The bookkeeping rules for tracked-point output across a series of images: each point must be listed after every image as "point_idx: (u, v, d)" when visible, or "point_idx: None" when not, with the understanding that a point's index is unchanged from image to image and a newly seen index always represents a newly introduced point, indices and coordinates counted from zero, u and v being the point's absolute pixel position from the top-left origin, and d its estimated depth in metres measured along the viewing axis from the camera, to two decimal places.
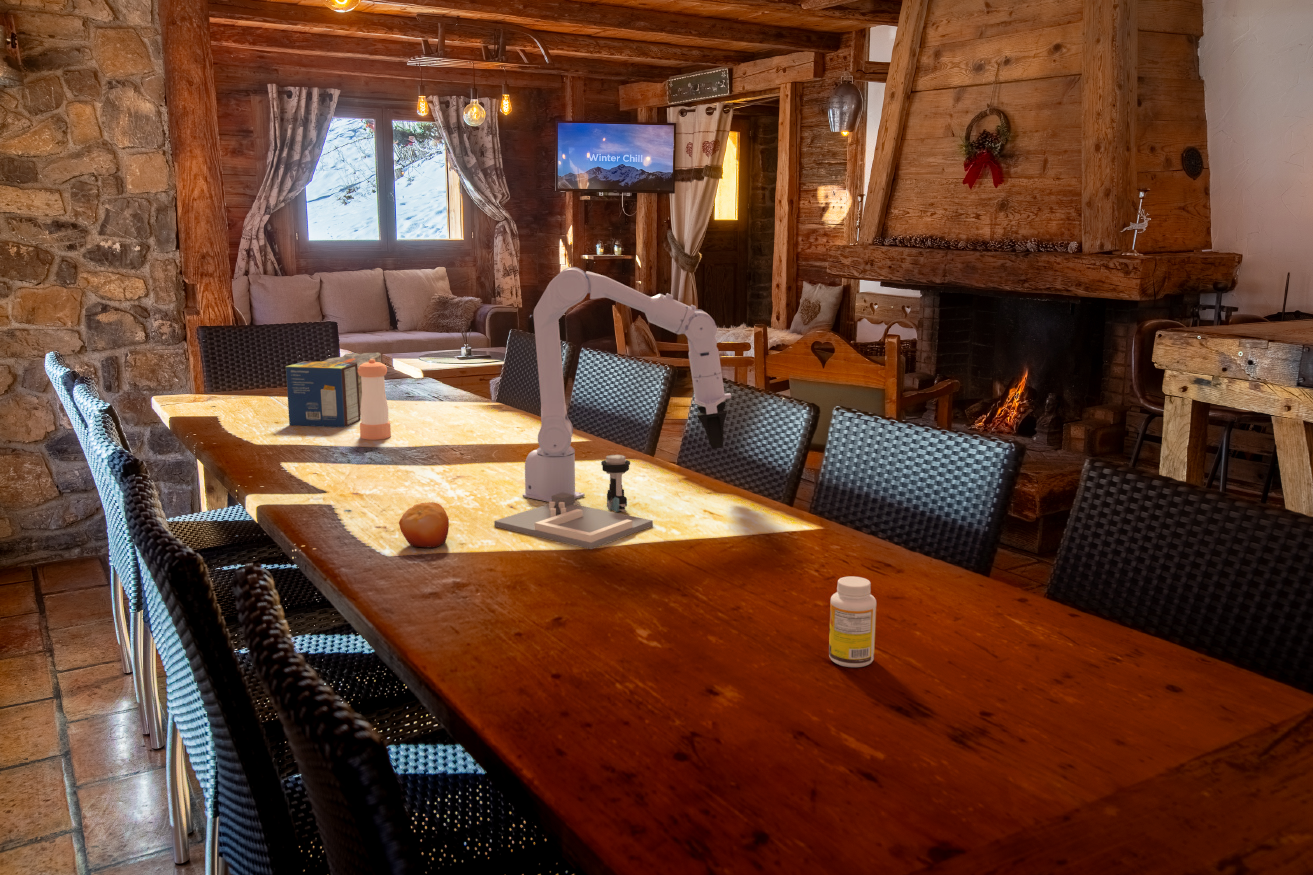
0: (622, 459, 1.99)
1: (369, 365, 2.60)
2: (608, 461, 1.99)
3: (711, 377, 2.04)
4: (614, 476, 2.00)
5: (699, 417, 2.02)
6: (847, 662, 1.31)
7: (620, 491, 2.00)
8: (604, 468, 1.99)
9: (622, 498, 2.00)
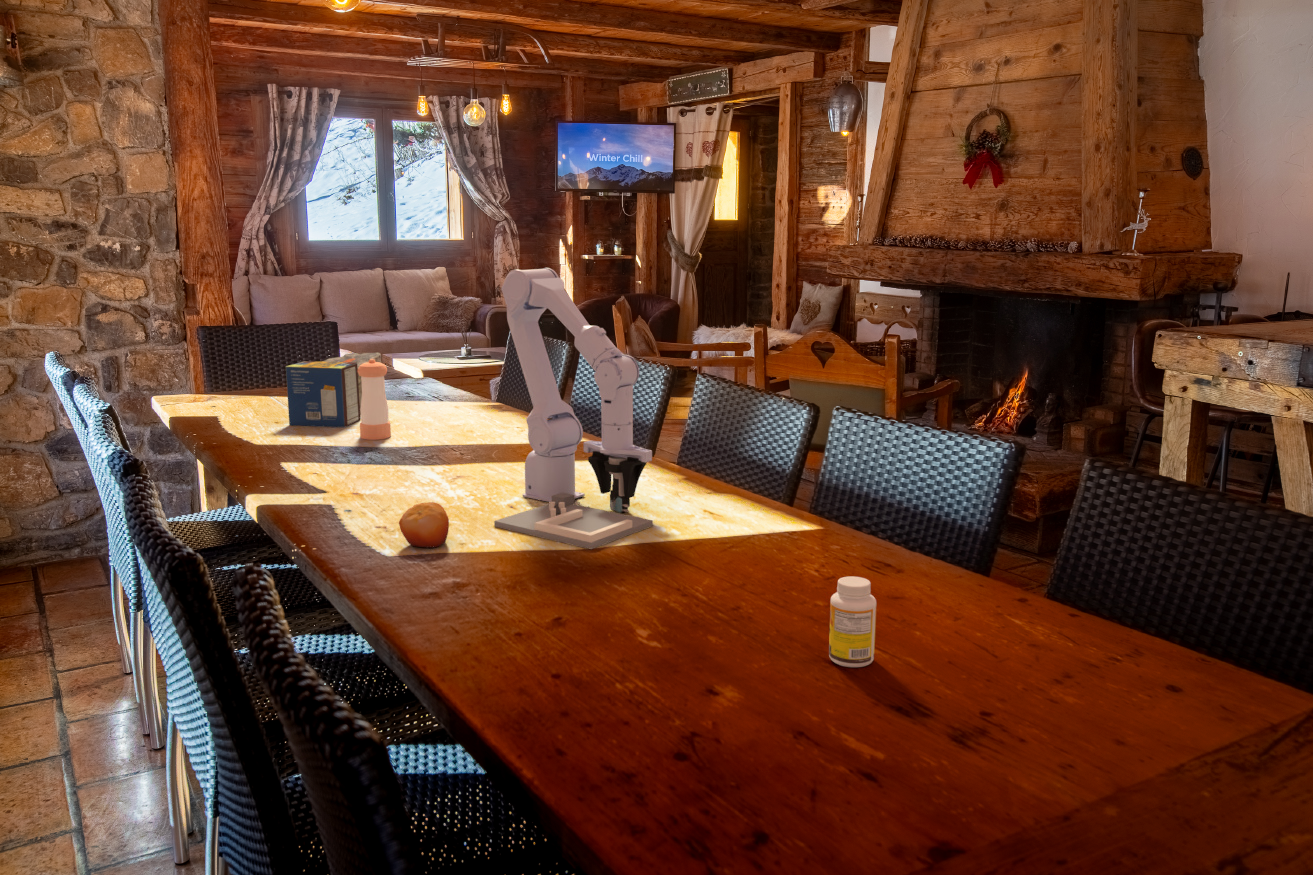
0: (625, 459, 1.99)
1: (369, 365, 2.60)
2: (611, 461, 1.99)
3: None
4: (617, 476, 2.00)
5: None
6: (847, 662, 1.31)
7: (623, 491, 1.99)
8: (607, 468, 1.99)
9: (625, 498, 1.99)
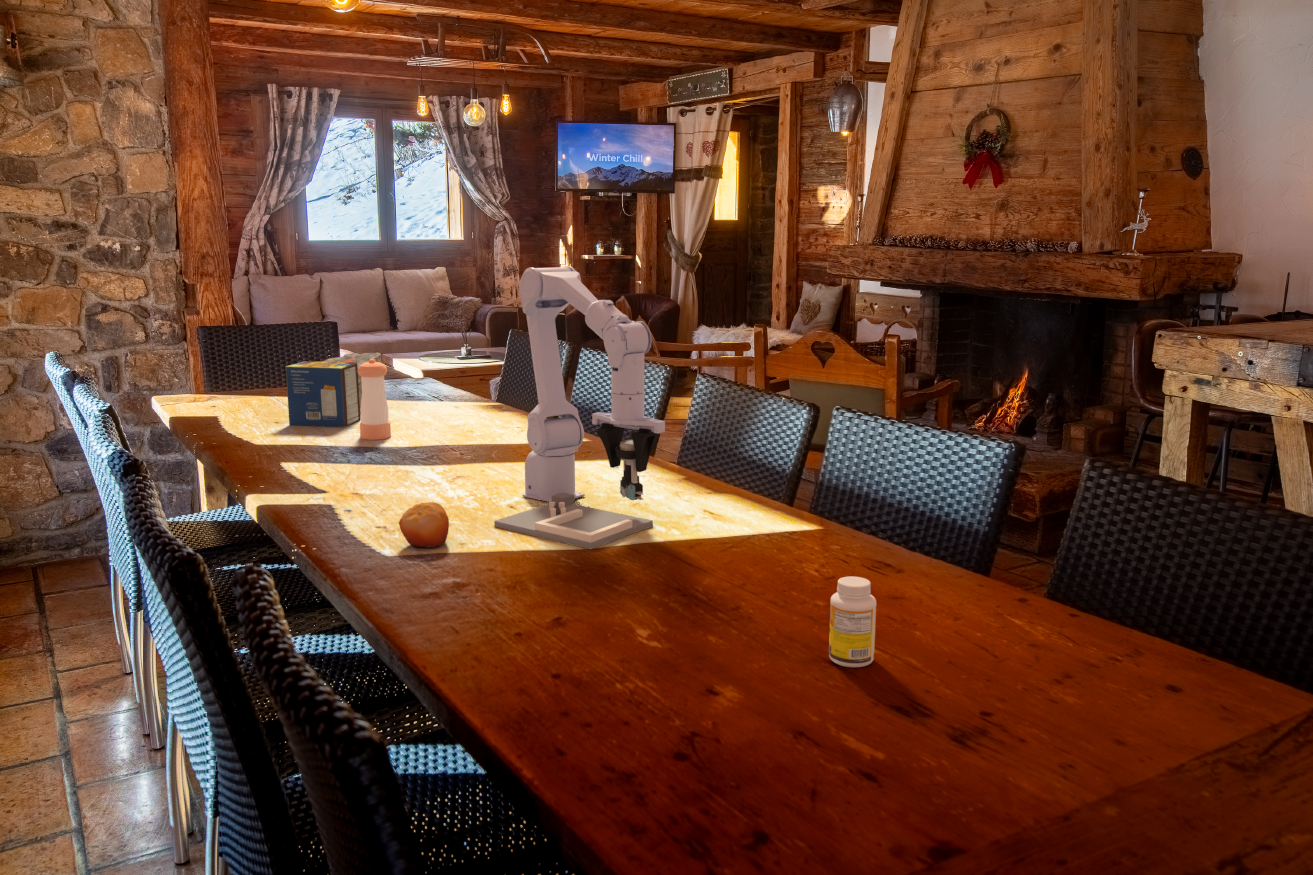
0: None
1: (369, 365, 2.60)
2: (623, 447, 1.89)
3: None
4: (629, 462, 1.90)
5: None
6: (847, 662, 1.31)
7: (636, 478, 1.91)
8: (619, 454, 1.89)
9: (638, 485, 1.91)
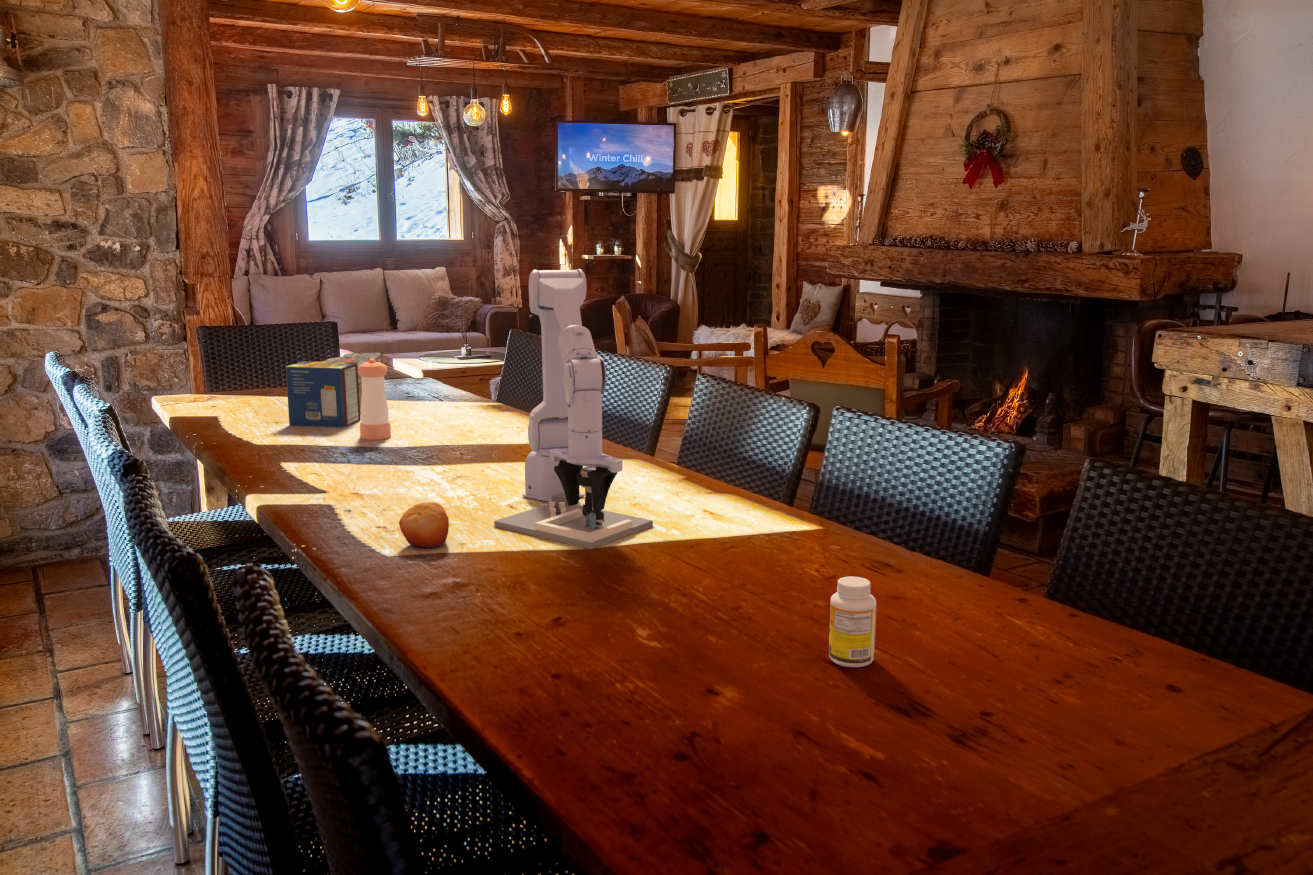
0: None
1: (369, 365, 2.60)
2: (583, 474, 1.85)
3: None
4: (590, 490, 1.86)
5: None
6: (847, 662, 1.31)
7: None
8: (579, 481, 1.85)
9: (599, 513, 1.86)
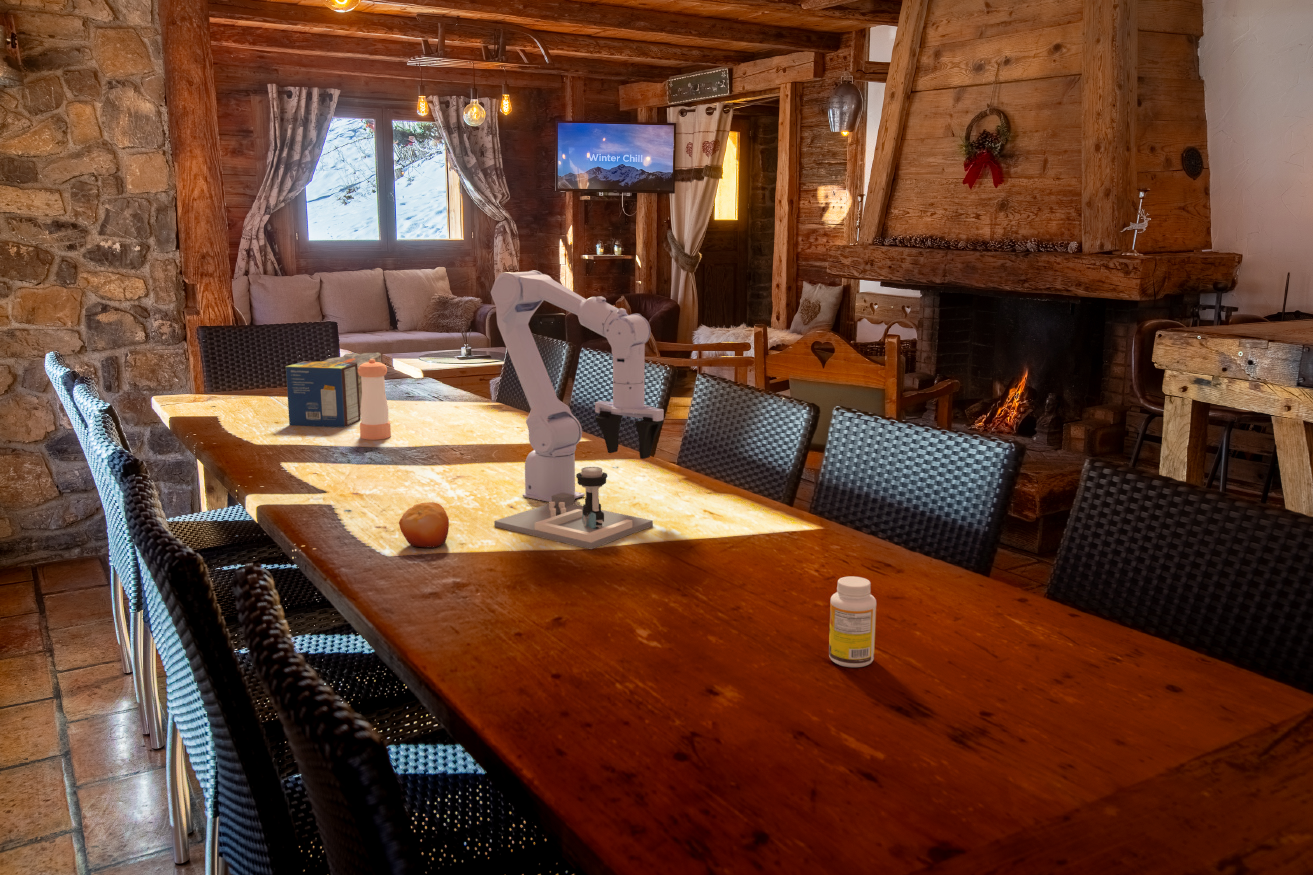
0: (599, 471, 1.85)
1: (369, 365, 2.60)
2: (584, 474, 1.85)
3: None
4: (590, 490, 1.86)
5: None
6: (847, 662, 1.31)
7: (597, 506, 1.86)
8: (579, 481, 1.85)
9: (599, 513, 1.86)
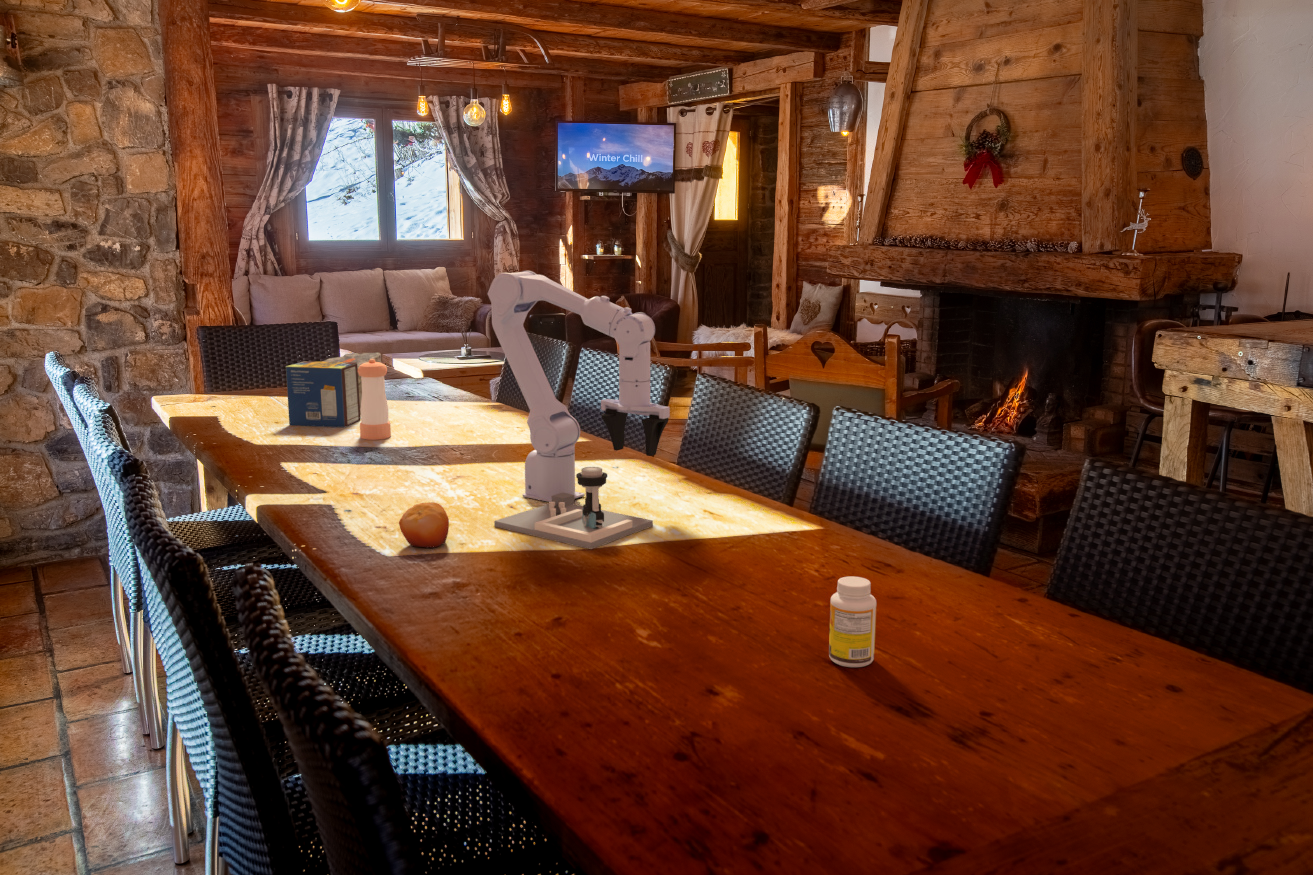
0: (599, 471, 1.85)
1: (369, 365, 2.60)
2: (584, 474, 1.85)
3: None
4: (590, 490, 1.86)
5: None
6: (847, 662, 1.31)
7: (597, 506, 1.86)
8: (579, 481, 1.85)
9: (599, 513, 1.86)
